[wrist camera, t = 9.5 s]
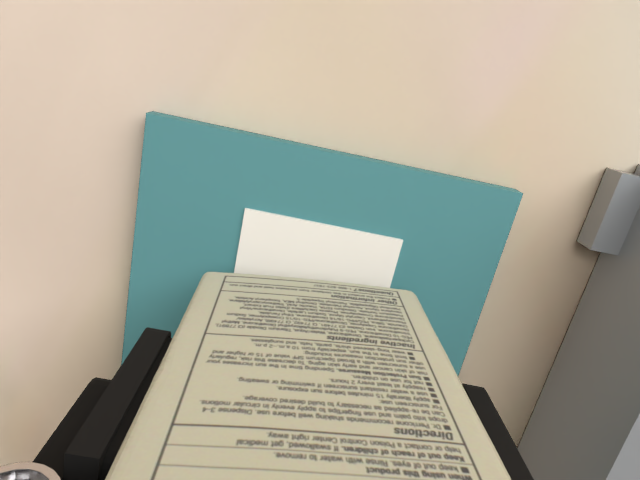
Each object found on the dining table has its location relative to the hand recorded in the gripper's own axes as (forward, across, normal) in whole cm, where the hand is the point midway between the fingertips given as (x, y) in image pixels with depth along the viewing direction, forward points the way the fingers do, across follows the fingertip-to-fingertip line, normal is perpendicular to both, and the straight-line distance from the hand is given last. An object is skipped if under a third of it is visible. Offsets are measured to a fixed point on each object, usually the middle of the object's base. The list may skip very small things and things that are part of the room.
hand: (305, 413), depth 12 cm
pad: (+5, 0, 0) cm, 5 cm away
